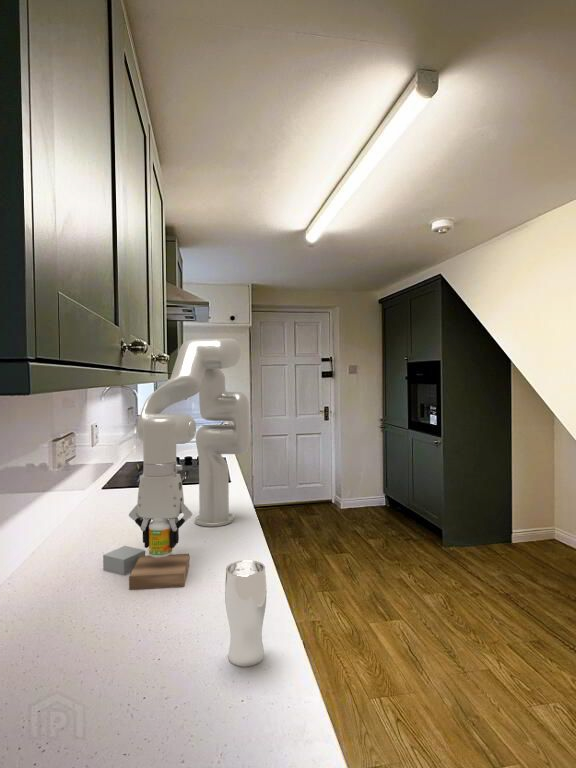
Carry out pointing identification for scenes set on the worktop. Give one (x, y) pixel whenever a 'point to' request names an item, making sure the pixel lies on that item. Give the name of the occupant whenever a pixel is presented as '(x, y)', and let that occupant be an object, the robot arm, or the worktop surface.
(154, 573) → the walnut block
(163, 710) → the worktop surface
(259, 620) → the beer glass
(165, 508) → the robot arm
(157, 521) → the supplement bottle
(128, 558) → the slate block
